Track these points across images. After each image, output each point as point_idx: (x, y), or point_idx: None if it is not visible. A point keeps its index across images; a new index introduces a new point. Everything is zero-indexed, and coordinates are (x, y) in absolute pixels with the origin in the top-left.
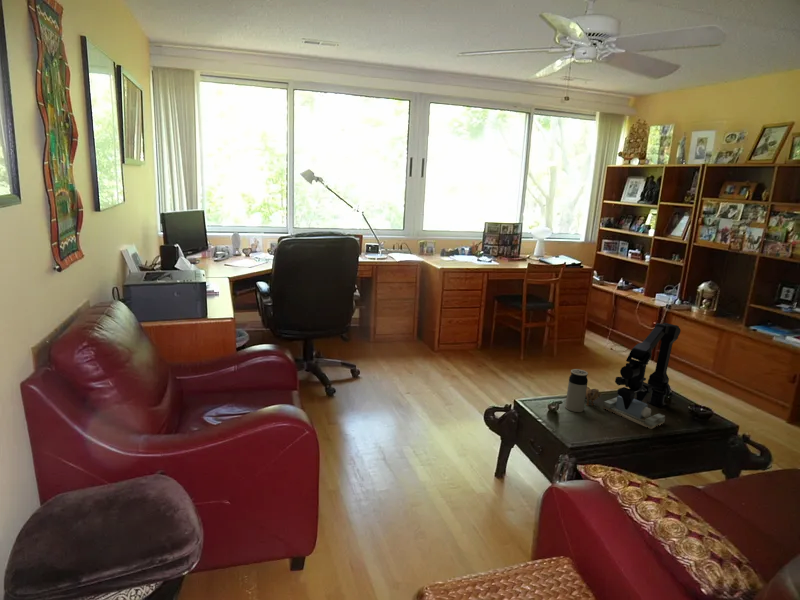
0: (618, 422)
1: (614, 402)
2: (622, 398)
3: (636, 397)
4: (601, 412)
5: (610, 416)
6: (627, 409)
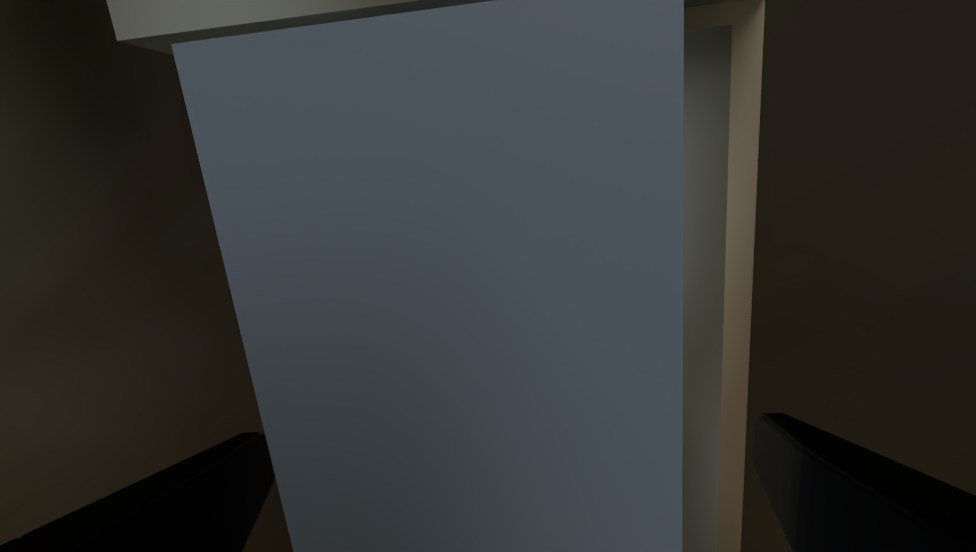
0: (94, 433)
1: (340, 12)
2: (245, 309)
3: (930, 536)
4: (62, 59)
5: (114, 248)
6: (262, 486)
